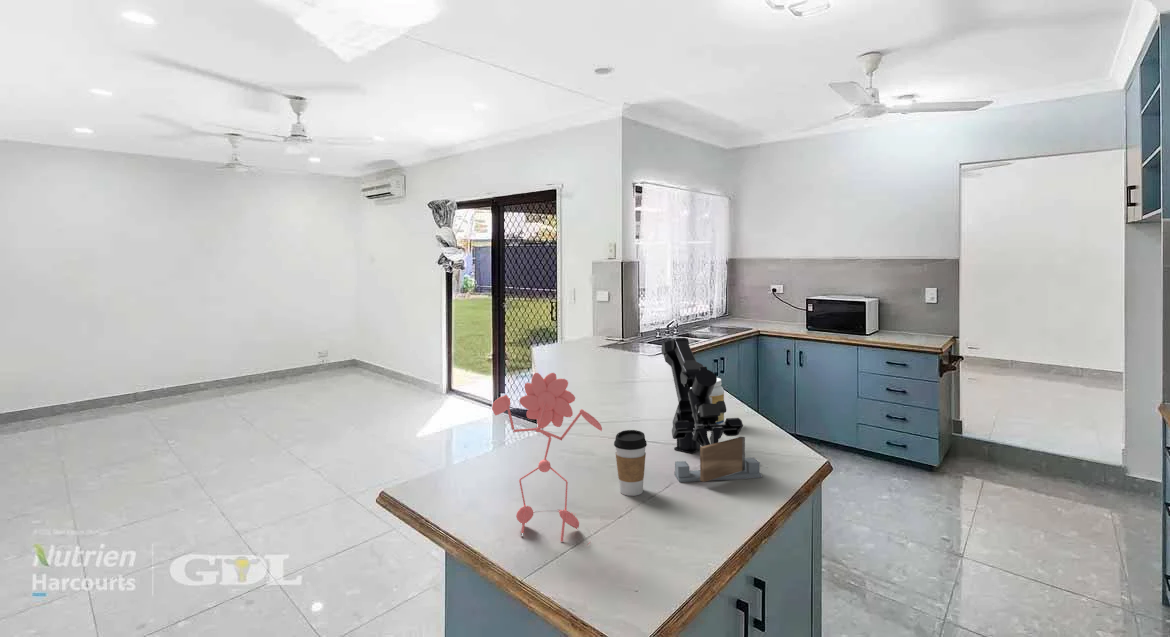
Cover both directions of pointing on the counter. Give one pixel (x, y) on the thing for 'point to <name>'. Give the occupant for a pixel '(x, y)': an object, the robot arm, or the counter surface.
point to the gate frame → (750, 472)
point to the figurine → (545, 405)
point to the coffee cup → (630, 461)
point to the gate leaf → (722, 458)
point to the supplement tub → (717, 397)
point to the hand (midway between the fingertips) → (713, 456)
